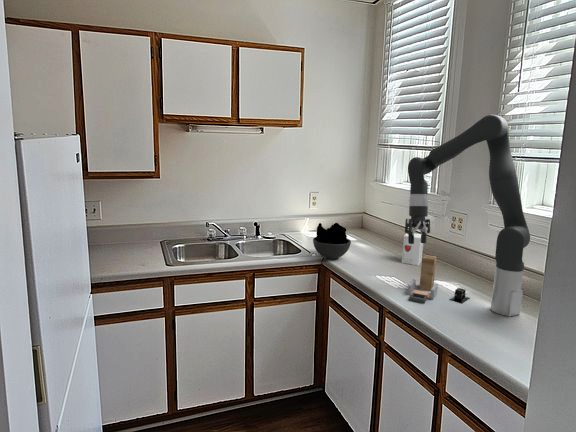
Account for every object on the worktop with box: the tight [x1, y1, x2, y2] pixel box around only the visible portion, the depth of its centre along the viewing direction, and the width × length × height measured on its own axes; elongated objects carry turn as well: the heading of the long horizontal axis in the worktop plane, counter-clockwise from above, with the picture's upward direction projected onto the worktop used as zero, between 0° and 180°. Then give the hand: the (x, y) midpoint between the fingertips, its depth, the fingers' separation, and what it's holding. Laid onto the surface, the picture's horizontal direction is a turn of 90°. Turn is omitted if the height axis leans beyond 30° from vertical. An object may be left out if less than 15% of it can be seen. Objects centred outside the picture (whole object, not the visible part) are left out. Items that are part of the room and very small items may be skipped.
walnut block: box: [418, 254, 437, 292], centre depth 184 cm, size 5×5×14 cm
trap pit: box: [408, 293, 428, 305], centre depth 171 cm, size 6×6×2 cm
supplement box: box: [401, 232, 424, 266], centre depth 222 cm, size 9×9×15 cm
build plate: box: [448, 287, 471, 305], centre depth 173 cm, size 12×7×5 cm, turn 137°
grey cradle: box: [406, 279, 439, 301], centre depth 177 cm, size 9×10×4 cm
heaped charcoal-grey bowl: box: [312, 222, 352, 260], centre depth 224 cm, size 20×20×19 cm
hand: (417, 243), depth 179 cm, fingers open, 8 cm apart
